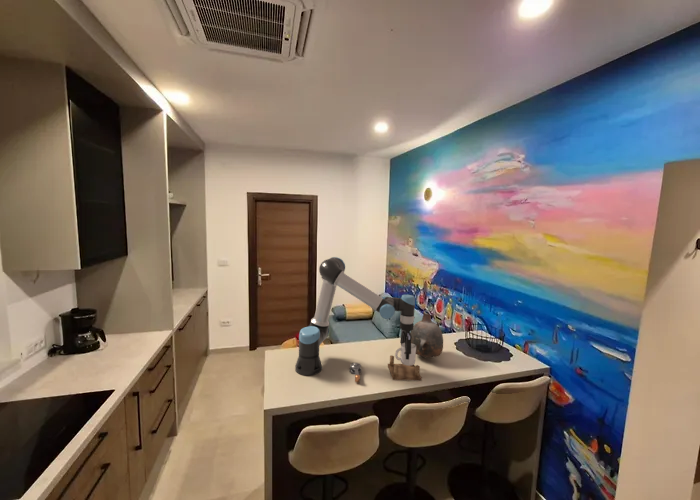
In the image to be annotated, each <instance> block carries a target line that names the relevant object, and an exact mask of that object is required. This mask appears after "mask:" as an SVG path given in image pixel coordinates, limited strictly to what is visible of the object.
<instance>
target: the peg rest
mask: <svg viewBox="0 0 700 500" xmlns="http://www.w3.org/2000/svg"><path fill="white" fill-rule="evenodd" d="M387 368H388V371H389V374H390V377H391V378H392V381H422V376H421V374H420V372H421V371H420V369H421V366H420V365H418V364H417V365H415V364H414V365H412V366H407V365H404V364H402V363H395V355H393V354H392V355H390V356H389V363H387Z"/></svg>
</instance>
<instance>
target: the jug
mask: <svg viewBox="0 0 700 500" xmlns="http://www.w3.org/2000/svg"><path fill="white" fill-rule="evenodd" d="M410 334H411V337H412V338H411V343H412V344H415V345H416V355H418V356H421V357H423V358H437V357H439V356H440V355H441V354H442V353H443V349H444V337H443V332H442V330H441V328H440V322H437V323H436V322H434V321H432V316H431V314H429V313H426V311H423V313H422V319H421V320H419V321H418V322H416V323H414V326H413V330H412V331H410Z"/></svg>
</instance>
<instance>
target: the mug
mask: <svg viewBox="0 0 700 500" xmlns="http://www.w3.org/2000/svg"><path fill="white" fill-rule="evenodd" d="M399 352H400V356H401V357H399V355H398V354H399ZM404 353H405V343H403V344H402V346H401V345H400V347H398V348H397V349H396V350H395V353H394V358H395V359H396V360H398V361H400V364H404V356H405V354H404ZM416 355H417V354H416V345H415V344H412V343H411V354H410V358H409V364H404V365H407V366H412V365H415V364H416Z"/></svg>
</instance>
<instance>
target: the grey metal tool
mask: <svg viewBox="0 0 700 500" xmlns="http://www.w3.org/2000/svg"><path fill="white" fill-rule="evenodd" d="M349 366H350V367H349V369H350V370H351V371H354V372H355V374H354V382H355V383H360V381H361V375H360V374H359V373H358V371H360V370H362V365H361V363H359V362H352V363H350V365H349Z"/></svg>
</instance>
